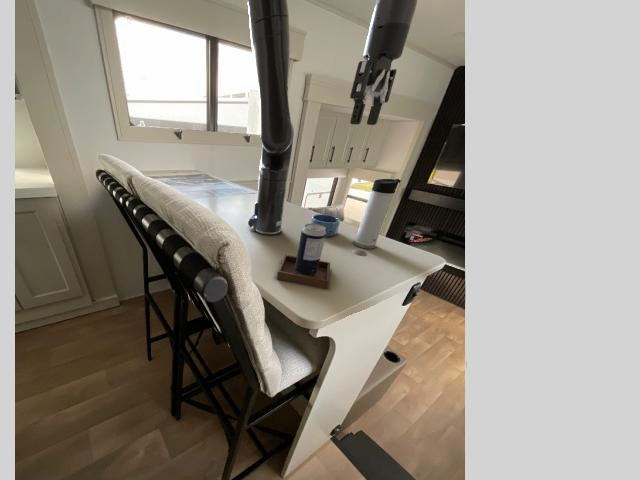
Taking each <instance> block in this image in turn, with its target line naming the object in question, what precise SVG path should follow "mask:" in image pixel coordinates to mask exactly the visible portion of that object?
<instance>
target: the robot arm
mask: <svg viewBox="0 0 640 480" xmlns="http://www.w3.org/2000/svg"><path fill="white" fill-rule="evenodd" d="M417 4H418V0H376V2H375V4H374V8H373V12H372V16H371V19H370V25H369V28H368V32H367V37H366V40H365V46H364V49H363V54H362V58H363V59H364V60H359V62H358V63H357V68H356V71H355V76H354V80H353V83H352V88H351V90H350V91H351V92H350V97H349V98H350V99H351V100H353V108H352V113H351V117H350V122H349V123H350V124H351V125H360V124H361V123H362V119H363V116H364V111H365V108H366V102H367V101H368V99H369V97H371V107H370V109H369V113H368V117H367V121H366V125H368V126H376V125H377V124H378V121H379V117H380V113H381V110H382V107H383V106H384V105H385V104H387V103H388V102H389V100H390V96H391V93H392V89H393V86H394V82H395V78H396V75H397V70H398V69H397V68H393V69H392V63H393V61H394V60H398V59H400V58H401V57H402V55H403V52H404V49H405V46H406V42H407V39H408V35H409V32H410V29H411V26H412V22H413V19H414V16H415V12H416V8H417ZM247 6H248V15H249V29H250V31H249V32H250V40H251V41H250V42H251V50H252V57H253V64H254V70H255V71H254V72H255V77H256V85H257V88H258V96H259V97H258V98H259V112H260V113H259V118H260V119H259V120H260V123H259V124H260V125H259V126H260V127H259V129H260V131H259V132H260V135H259V136H260V143H261V158H260V163H259V168H258V180H257V181H258V182H257V192H256V193H257V195H256V202H255V203H254V212H253V214H252V215H251V217H250V218H249V219H248V222H247V224H248V227H249V228H252V227H253V228H252V232H256V233H258V234H261V235H265V236H266V235H267V236H272V235H273V236H274V235H277V234H280V233H281V232H282V224H283V215H284V209H285V202H286V201H285V200H286V195H287V194H286V193H287V187H288V180H289V179H288V178H289V173H290V165H291V159H292V151H293V144H294V138H295V130H294V126H293V123H292V120H291V111H290V105H289V104H290V103H289V95H288V94H289V93H288V92H289V91H288V87H289V86H288V85H289V84H288V83H289V82H288V81H289V70H290V51H291V49H290V48H291V47H290V45H291V44H290V43H291V42H290V41H291V40H290V39H291V38H290V13H289V7H288V6H289V4H288V0H247Z"/></svg>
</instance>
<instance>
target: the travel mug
mask: <svg viewBox="0 0 640 480" xmlns="http://www.w3.org/2000/svg"><path fill="white" fill-rule="evenodd" d="M401 181H402V180H401V179H400V178H379V179H375V180H374V182H373V183H372V184H373V185H372V187H371V190H370V193H369V195H368V196H369V197H368V199H367V202H366V206H365V207H364V208H365V209H364V211H363V214H362V217H361V221H360V224H359V226H358V229H357V230H358V231H357V234H356V236H355V239H354V242H353V243H354V245H355V246H357V247H358V248H362V249H367V250H368V249H369V250H371V249H373V248H375V247H376V244H377V241H378V238H379V236H380V234H381V231H382V228H383V226H384V223H385V220H386V218H387V215H388V213H389V209H390V208H391V205H392V202H393V200H394V197H395V195H396V191H397V188H398V185H399V184H400V183H401Z"/></svg>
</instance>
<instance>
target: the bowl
mask: <svg viewBox="0 0 640 480" xmlns="http://www.w3.org/2000/svg"><path fill="white" fill-rule="evenodd" d="M311 223H312V224H319V225H322V226H324V227H325V228H326V230H325V231H326V237H325V238H327V237H334V236H336V235H337V233H338V230H339V226H340V223H341V218H339V217H338V216H335V215H330V214H325V213H324V214H323V213H321V214H320V213H319V214H314V215H312V217H311V221H310V224H311Z"/></svg>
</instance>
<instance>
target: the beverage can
mask: <svg viewBox="0 0 640 480" xmlns="http://www.w3.org/2000/svg"><path fill="white" fill-rule="evenodd" d="M325 230H326V228H325V227H324V226H322V225H319V224H312V223H311V222H310V223H306V224H304V225H303V228H302V229H301V231H300V237H299V242H298V246H297V247H298V248H297V253H296V257H297V258H296V263H295V270H296V271H297V273H298V274H300V275H304V276H312V275H313V274H315V273H316V272H317V269H318V265H319V261H321V258H322V257H321V256H322V253H323V248H324V245H325V242H326V238H327V237H326V231H325Z"/></svg>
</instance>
